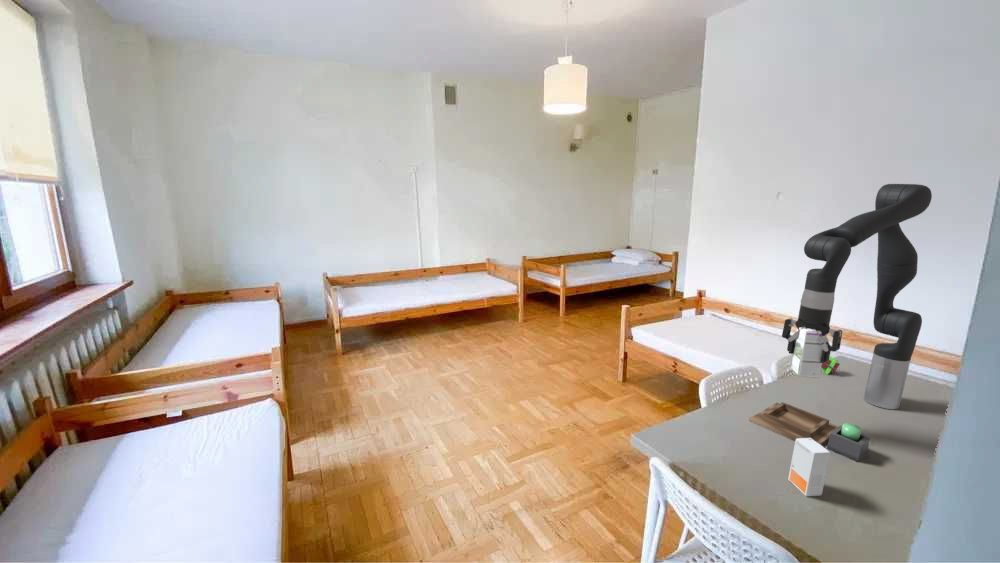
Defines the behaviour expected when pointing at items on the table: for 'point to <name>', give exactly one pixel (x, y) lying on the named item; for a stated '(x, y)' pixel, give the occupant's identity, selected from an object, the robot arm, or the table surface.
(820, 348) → the syrup box
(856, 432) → the button
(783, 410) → the brown wooden square tray
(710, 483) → the table surface
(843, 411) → the table surface
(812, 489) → the skincare box
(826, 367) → the geometric puzzle
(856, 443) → the button housing
